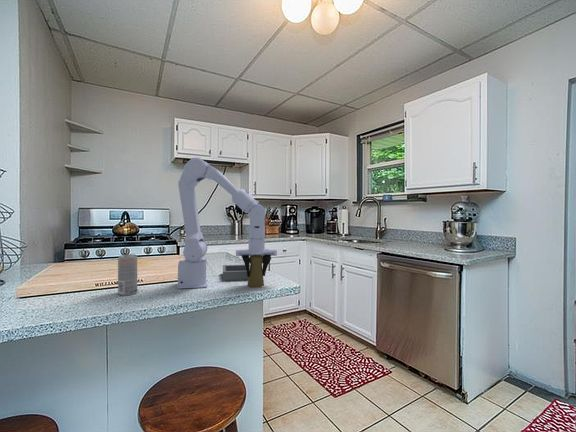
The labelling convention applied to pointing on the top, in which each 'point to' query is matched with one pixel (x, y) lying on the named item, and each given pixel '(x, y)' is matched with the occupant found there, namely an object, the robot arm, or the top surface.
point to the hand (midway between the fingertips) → (255, 275)
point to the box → (235, 272)
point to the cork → (256, 271)
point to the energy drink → (127, 274)
